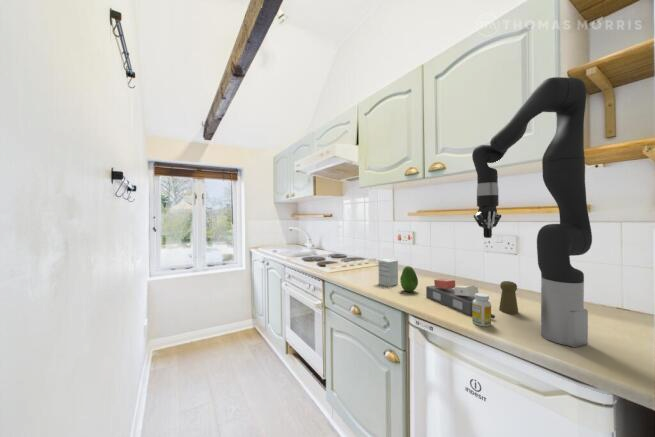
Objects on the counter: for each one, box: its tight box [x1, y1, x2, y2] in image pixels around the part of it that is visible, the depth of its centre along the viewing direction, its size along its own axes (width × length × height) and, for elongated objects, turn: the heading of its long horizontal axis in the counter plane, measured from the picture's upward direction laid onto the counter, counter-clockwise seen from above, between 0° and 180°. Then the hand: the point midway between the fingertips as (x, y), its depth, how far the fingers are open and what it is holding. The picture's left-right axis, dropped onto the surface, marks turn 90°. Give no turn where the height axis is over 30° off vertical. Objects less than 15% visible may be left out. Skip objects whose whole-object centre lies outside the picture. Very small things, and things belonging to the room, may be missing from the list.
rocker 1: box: [433, 278, 456, 289], centre depth 112 cm, size 7×5×3 cm
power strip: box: [425, 285, 496, 320], centre depth 104 cm, size 29×8×5 cm, turn 19°
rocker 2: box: [453, 285, 479, 296], centre depth 101 cm, size 7×5×3 cm
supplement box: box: [377, 258, 399, 287], centre depth 138 cm, size 7×7×13 cm
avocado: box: [399, 265, 419, 292], centre depth 125 cm, size 8×8×12 cm
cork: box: [498, 280, 519, 315], centre depth 99 cm, size 6×6×11 cm
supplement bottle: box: [471, 292, 492, 327], centre depth 88 cm, size 5×5×10 cm
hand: (487, 237), depth 107 cm, fingers closed
